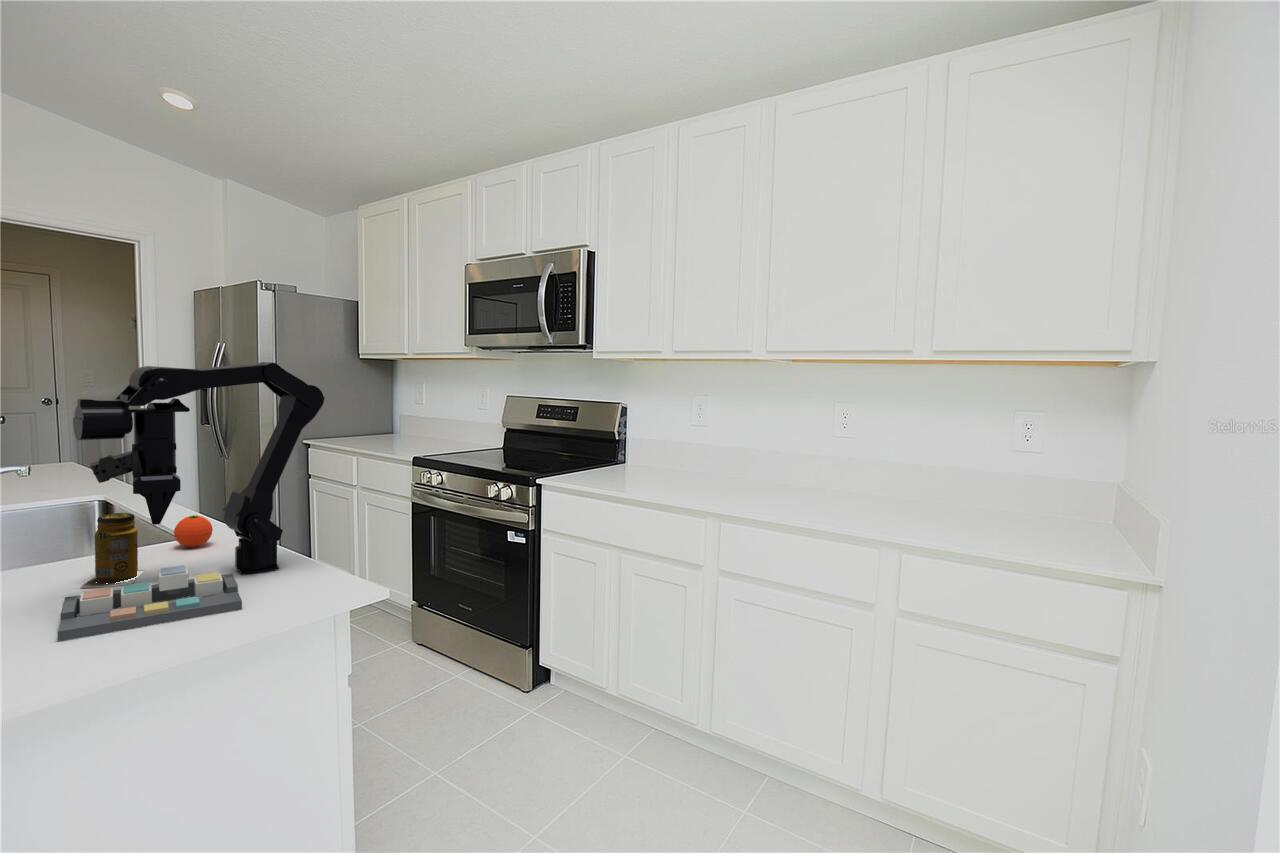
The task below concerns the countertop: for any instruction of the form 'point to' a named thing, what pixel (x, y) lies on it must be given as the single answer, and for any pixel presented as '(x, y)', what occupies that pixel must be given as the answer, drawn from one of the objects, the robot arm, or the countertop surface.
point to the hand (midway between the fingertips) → (156, 524)
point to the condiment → (115, 551)
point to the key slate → (173, 579)
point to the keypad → (147, 610)
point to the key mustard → (208, 585)
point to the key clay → (96, 601)
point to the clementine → (193, 531)
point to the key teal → (136, 595)
